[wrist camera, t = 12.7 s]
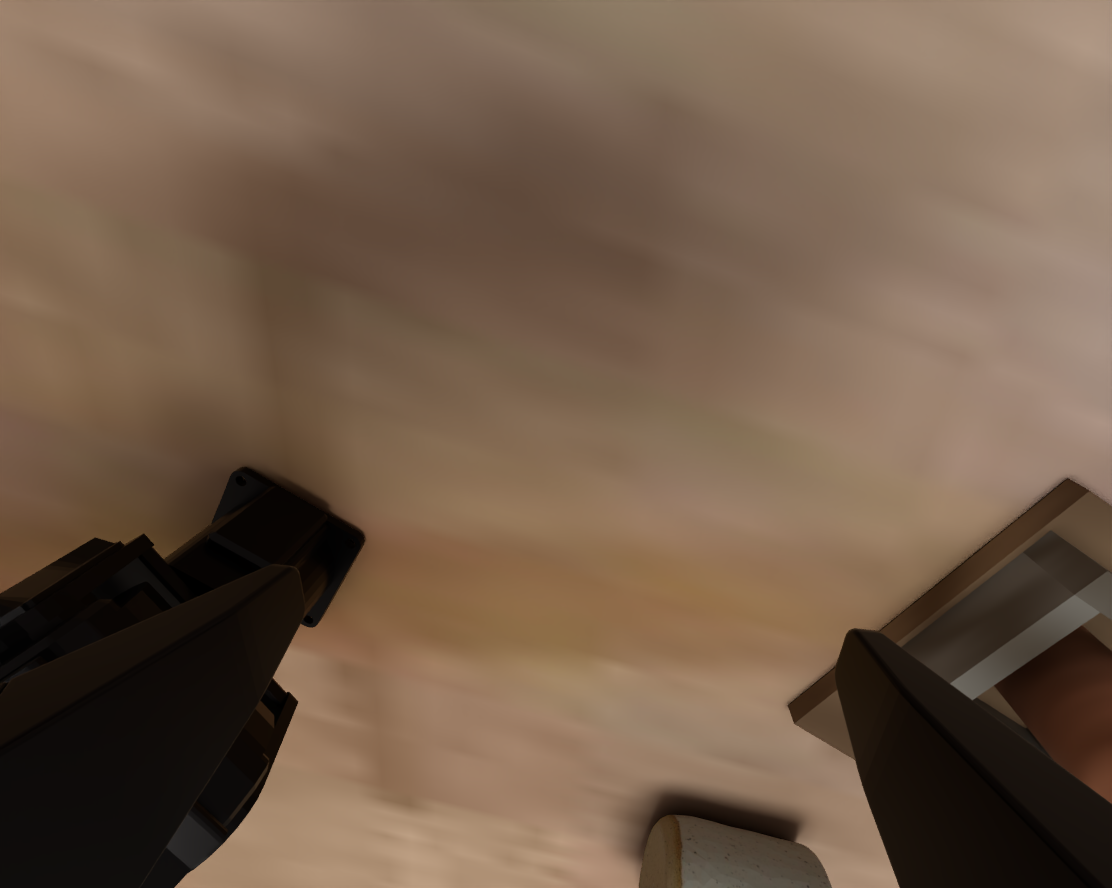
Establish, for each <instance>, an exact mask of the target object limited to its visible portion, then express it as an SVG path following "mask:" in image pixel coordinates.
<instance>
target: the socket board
mask: <svg viewBox="0 0 1112 888" xmlns="http://www.w3.org/2000/svg"><path fill="white" fill-rule="evenodd" d="M1081 625H1082V626H1084V627H1085V628H1086V629H1087V630H1088V631H1089V632H1090V633H1092V634H1093V635H1094V636H1095V637H1096V638H1097V639H1098V640H1100V641H1101V642H1102V643H1103V644H1104V645H1105V646H1106V647H1108V648H1109V649H1110V650H1111V651H1112V506H1110V505H1109V504H1107V503H1106V502H1105V501H1103V500H1102V499H1100V498H1099V497H1098V496H1096V495H1095V494H1093V493H1092V492H1091V491H1089V490H1087V489H1086V488H1084V487H1082V486H1080V485H1079V484H1077V483H1075V482H1073V481H1072V480H1070V479H1067V480H1066V481H1064V482H1063V483H1062V484H1061V485H1060V486H1058V487H1057V488H1056V489H1055V490H1053V491H1052V492H1051V493H1050V494H1048V495H1047V496H1046V497H1045V498H1043V499H1042V500H1041V501H1040V502H1039V503H1037V504H1036V505H1035V506H1034V507H1032V508H1031V509H1030V510H1029V511H1027V512H1026V513H1025V514H1024V515H1023V516H1021V517H1020V518H1019V519H1018V520H1016V521H1015V522H1014V523H1013V524H1011V525H1010V526H1009V527H1008V528H1006V529H1005V530H1004V531H1003V532H1002V533H1000V534H999V535H998V536H997V537H995V538H994V539H993V540H992V541H990V542H989V543H988V544H987V545H986V546H984V547H983V548H982V549H981V550H979V551H978V552H977V553H976V554H974V555H973V556H972V557H971V558H970V559H968V560H967V561H966V562H965V563H963V564H962V565H961V566H960V567H958V568H957V569H956V570H955V571H953V572H952V573H951V574H950V575H949V576H947V577H946V578H945V579H944V580H942V581H941V582H940V583H939V584H937V585H936V586H935V587H934V588H933V589H931V590H930V591H929V592H928V593H926V594H925V595H924V596H923V597H921V598H920V599H919V600H918V601H917V602H915V603H914V604H913V605H912V606H910V607H909V608H908V609H907V610H905V611H904V612H903V613H902V614H900V615H899V616H898V617H897V618H896V619H894V620H893V621H892V622H891V623H889V624H888V625H887V626H886V627H884V628H883V629H882V630H881V631H880V632H881V633H882V634H884V635H885V636H887V637H888V638H889V639H891V640H892V641H893V642H895V643H896V644H897V645H899V646H900V647H902V648H903V649H904V650H906V651H907V652H908V653H910V654H911V655H912V656H914V657H915V658H916V659H918V660H919V661H920V662H922V663H923V664H924V665H926V666H927V667H928V668H930V669H931V670H932V671H934V672H935V673H937V674H938V675H939V676H941V677H942V678H943V679H945V680H946V681H947V682H949V683H950V684H951V685H953V686H954V687H955V688H957V689H958V690H959V691H961V692H962V693H963V694H965V695H966V696H968V697H969V698H970V699H972V700H973V701H974V702H976V703H977V704H978V705H980V706H981V707H982V708H984V709H985V710H986V711H988V712H989V713H990V714H992V715H993V716H994V717H996V718H997V719H998V720H1000V721H1001V722H1003V723H1004V724H1005V725H1007V726H1008V727H1009V728H1011V729H1012V730H1013V731H1015V732H1016V733H1017V734H1019V735H1020V736H1021V737H1023V738H1024V739H1025V740H1027V741H1028V742H1029V743H1031V744H1032V745H1033V746H1035V747H1036V748H1038V749H1039V750H1040V751H1042V752H1043V753H1044V754H1046V755H1047V756H1048V757H1050V758H1051V759H1052V757H1051V756H1050V755H1049V754H1048V752H1047V751H1046V750H1045V749H1044V747H1043V746H1042V745H1041V744H1040V742H1039V741H1038V740H1037V739H1036V737H1035V736H1034V735H1033V734H1032V732H1031V731H1030V730H1029V729H1028V727H1027V726H1026V725H1025V724H1024V722H1023V721H1022V720H1021V719H1020V717H1019V716H1018V715H1017V714H1016V713H1015V711H1014V710H1013V709H1012V708H1011V706H1010V705H1009V704H1008V703H1007V701H1006V700H1005V699H1004V698H1003V696H1002V695H1001V694H1000V693H999V691H998V690H997V689H996V688H995V686H994V685H995V684H997V683H998V682H1000V681H1001V680H1003V679H1004V678H1005V677H1007V676H1008V675H1010V674H1011V673H1013V672H1014V671H1016V670H1017V669H1019V668H1020V667H1022V666H1023V665H1024V664H1026V663H1027V662H1029V661H1030V660H1032V659H1033V658H1035V657H1036V656H1038V655H1039V654H1040V653H1042V652H1043V651H1045V650H1046V649H1048V648H1049V647H1051V646H1052V645H1054V644H1055V643H1057V642H1058V641H1059V640H1061V639H1062V638H1064V637H1065V636H1067V635H1068V634H1070V633H1071V632H1073V631H1074V630H1076V629H1077V628H1078V627H1080V626H1081ZM835 668H836V667H835ZM835 668H834V669H833V670H831V671H830V672H829V673H828V674H827V675H825V676H824V677H823V678H822V679H820V680H819V681H818V682H817V683H815V684H814V685H813V686H812V687H811V688H809V689H808V690H807V691H806V692H804V693H803V694H802V695H801V696H799V697H798V698H797V699H796V700H794V701H793V702H792V703H791V704H790V705H788V707H789V710H790V713H791V716H792V719H793V722H794V724H795V725H797V726H799V727H800V728H802V729H804V730H806V731H807V732H809V733H811V734H812V735H814V736H816V737H817V738H819V739H821V740H822V741H824V742H826V743H827V744H829V745H831V746H832V747H834V748H836V749H837V750H839V751H841V752H843V753H844V754H846V755H848V756H849V757H851V758H853V759H854V760H855V757H854V753H853V749H852V745H851V742H850V738H849V734H848V730H847V726H846V722H845V718H844V714H843V711H842V707H841V703H840V699H839V695H838V691H837V687H836V683H835ZM1052 760H1053V759H1052Z"/></svg>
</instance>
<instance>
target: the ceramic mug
mask: <svg viewBox="0 0 1112 888" xmlns="http://www.w3.org/2000/svg"><path fill="white" fill-rule="evenodd" d="M639 888H832V887H831V884H830V881H829V879H828V876H827V874H826V872H825V869H824V867H823V866H822V864H821V862H820V861H819V859H818V857H817V856H816V855H815V854H814V853H813V852H812V851H811V850H810V849H809V848H807V847H806V846H804V845H802V844H799V843H795V842H791V841H787V840H783V839H779V838H775V837H771V836H767V835H764V834H760V833H756V832H752V831H749V830H744V829H739V828H734V827H730V826H727V825H723V824H720V823H716V822H713V821H709V820H705V819H701V818H697V817H693V816H684V815H667V816H665V817H662V818H661V819H660V820H659V821H658V822H657V823H656V824H655V825H654V827H653V828H652V831H651V833H650V835H649V838H648V841H647V845H646V848H645V852H644V857H643V863H642V868H641V874H640V881H639Z"/></svg>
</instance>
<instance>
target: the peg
mask: <svg viewBox="0 0 1112 888" xmlns="http://www.w3.org/2000/svg"><path fill="white" fill-rule="evenodd" d="M994 686H995V688H996V689H997V690H998V691H999V693H1000V694H1001V695H1002V696H1003V698H1004V699H1005V700H1006V701H1007V703H1008V704H1009V705H1010V706H1011V708H1012V709H1013V710H1014V711H1015V713H1016V714H1017V715H1018V716H1019V717H1020V719H1021V720H1022V721H1023V722H1024V724H1025V725H1026V726H1027V727H1028V729H1029V730H1030V731H1031V732H1032V734H1033V735H1034V736H1035V737H1036V739H1037V740H1038V741H1039V742H1040V744H1041V745H1042V746H1043V747H1044V749H1045V750H1046V751H1047V752H1048V754H1049V755H1050V756H1051V757H1052V759H1053V760H1054V761H1055V762H1056V763H1058V764H1059V765H1060V766H1062V767H1063V768H1064V769H1066V770H1067V771H1068V772H1070V773H1071V774H1073V775H1074V776H1075V777H1077V778H1078V779H1079V780H1081V781H1082V782H1083V783H1085V784H1086V785H1087V786H1089V787H1090V788H1091V789H1093V790H1094V791H1095V792H1097V793H1098V794H1099V795H1101V796H1102V797H1103V798H1105V799H1106V800H1108V801H1109V802H1110V803H1112V651H1111V650H1110V649H1109V648H1108V647H1106V646H1105V645H1104V644H1103V643H1102V642H1101V641H1100V640H1098V639H1097V638H1096V637H1095V636H1094V635H1093V634H1092V633H1090V632H1089V631H1088V630H1087V629H1086V628H1085V627H1084V626H1082V625H1081V626H1080V627H1078V628H1077V629H1076V630H1074V631H1073V632H1071V633H1070V634H1068V635H1067V636H1065V637H1064V638H1062V639H1061V640H1059V641H1058V642H1057V643H1055V644H1054V645H1052V646H1051V647H1049V648H1048V649H1046V650H1045V651H1043V652H1042V653H1040V654H1039V655H1038V656H1036V657H1035V658H1033V659H1032V660H1030V661H1029V662H1027V663H1026V664H1024V665H1023V666H1022V667H1020V668H1019V669H1017V670H1016V671H1014V672H1013V673H1011V674H1010V675H1008V676H1007V677H1005V678H1004V679H1003V680H1001V681H1000V682H998V683H997V684H995V685H994Z"/></svg>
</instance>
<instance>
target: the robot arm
mask: <svg viewBox="0 0 1112 888" xmlns="http://www.w3.org/2000/svg"><path fill="white" fill-rule="evenodd" d="M242 477H244V478H245V480H246V481H244V480H243V479H242ZM349 539H351V540H353V541H354V542H355V544H354V543H352V542H351V541H350V540H349ZM364 542H365V540H364V537H363V535H362V534H361V533H360V532H358V531H357V530H355V529H353V528H351V527H350V526H348V525H346V524H345V523H343V522H341V521H339V520H338V519H336V518H334V517H332V516H331V515H329V514H327V513H326V512H324V511H322V510H320V509H319V508H317V507H315V506H313V505H312V504H310V503H308V502H307V501H305V500H303V499H301V498H300V497H298V496H296V495H294V494H293V493H291V492H289V491H288V490H286V489H284V488H282V487H281V486H279V485H277V484H275V483H274V482H272V481H270V480H269V479H267V478H265V477H263V476H262V475H260V474H258V473H256V472H255V471H253V470H251V469H249V468H247V467H241V468H239V469H237V470H236V471H234V472H233V473H232V474H231V476H230V478H229V481H228V483H227V486H226V488H225V491H224V494H223V496H222V499H221V501H220V504H219V506H218V509H217V511H216V514H215V516H214V519H213V521H212V524H211V525H210V526H208V527H207V528H206V529H204V530H203V531H202V532H200V533H199V534H197V535H196V536H195V537H193V538H192V539H191V540H189V541H188V542H186V543H185V544H184V545H182V546H181V547H180V548H178V549H177V550H176V551H174V552H173V553H171V554H170V555H169V556H167V557H166V558H165V559H163V558H162V557H161V556H160V555H159V554H158V553H157V552H156V551H155V550H154V548H153V547H152V546H154V544H153V543H152V542H151V541H150V540H149V538H148V537H147V536H146V535H145V534H142V535H140V536H138V537H137V538H135V539H133V540H132V541H130V542H128V543H126V544H125V545H124V544H123V543H122V542H121V541H119V542H118V543H117V542H116V543H112V542H108V541H105V540H102V539H98V538H94V539H92V540H90V541H88V542H87V543H85V544H83V545H82V546H80V547H78V548H77V549H75V550H73V551H72V552H70V553H68V554H67V555H65V556H63V557H62V558H60V559H58V560H57V561H55V562H53V563H51V564H50V565H48V566H46V567H45V568H43V569H41V570H40V571H38V572H36V573H35V574H33V575H31V576H29V577H28V578H26V579H24V580H23V581H21V582H19V583H18V584H16V585H14V586H12V587H11V588H9V589H7V590H6V591H4V592H2V593H1V594H0V888H174V887H175V886H176V885H177V884H178V883H179V882H180V881H181V880H182V879H183V878H184V876H185V875H186V874H187V873H189V872H190V871H192V870H194V869H195V868H196V867H197V866H199V865H200V864H201V863H202V862H204V861H205V860H206V859H207V858H208V857H210V856H211V855H212V854H213V853H214V852H215V851H216V850H217V849H218V848H219V847H220V846H221V845H222V844H223V843H224V842H225V841H226V840H227V839H228V837H229V836H230V835H231V834H232V833H233V832H234V831H235V830H236V829H237V827H238V826H239V825H240V823H241V822H242V821H243V819H244V818H245V817H246V816H247V814H248V813H249V811H250V810H251V808H252V807H253V805H254V804H255V802H256V801H257V799H258V797H259V795H260V793H261V791H262V789H263V787H264V785H265V782H266V780H267V777H268V775H269V772H270V770H271V768H272V765H273V763H274V760H275V758H276V755H277V753H278V750H279V748H280V746H281V743H282V741H283V738H284V736H285V733H286V731H287V728H288V726H289V724H290V721H291V719H292V716H293V714H294V711H295V709H296V706H297V704H298V701H297V700H296V699H295V698H294V697H293V695H292V694H291V693H290V692H287V693H286V692H285V691H284V690H283V689H282V688H281V686H280V685H279V684H278V683H277V682H276V681H275V680H274V679H273V676H274V674H275V672H276V670H277V668H278V666H279V664H280V662H281V660H282V658H283V656H284V654H285V653H286V651H287V649H288V647H289V645H290V643H291V641H292V639H293V637H294V635H295V633H296V631H297V629H298V627H299V626H300V624H302V625H304V626H307V627H315V626H316V625H317V624H318V623H319V622H320V620H321V619H322V617H323V616H324V614H325V612H326V610H327V609H328V607H329V605H330V603H331V602H332V600H333V598H334V596H335V595H336V593H337V591H338V589H339V588H340V586H341V584H342V582H343V580H344V579H345V577H346V575H347V573H348V572H349V570H350V568H351V566H352V565H353V563H354V561H355V559H356V558H357V556H358V554H359V552H360V551H361V549H362V547H363V545H364ZM311 617H312V618H311ZM835 683H836V687H837V691H838V695H839V699H840V703H841V707H842V711H843V714H844V718H845V722H846V726H847V730H848V734H849V738H850V742H851V745H852V749H853V753H854V757H855V761H856V765H857V769H858V772H859V776H860V779H861V782H862V786H863V789H864V792H865V795H866V797H867V800H868V803H869V806H870V809H871V811H872V814H873V817H874V819H875V822H876V825H877V828H878V830H879V833H880V836H881V838H882V841H883V844H884V847H885V849H886V852H887V855H888V857H889V860H890V863H891V865H892V868H893V871H894V874H895V876H896V879H897V882H898V884H899V887H900V888H1112V803H1110V802H1109V801H1108V800H1106V799H1105V798H1103V797H1102V796H1101V795H1099V794H1098V793H1097V792H1095V791H1094V790H1093V789H1091V788H1090V787H1089V786H1087V785H1086V784H1085V783H1083V782H1082V781H1081V780H1079V779H1078V778H1077V777H1075V776H1074V775H1073V774H1071V773H1070V772H1068V771H1067V770H1066V769H1064V768H1063V767H1062V766H1060V765H1059V764H1058V763H1056V762H1055V761H1054V760H1052V759H1051V758H1050V757H1048V756H1047V755H1046V754H1044V753H1043V752H1042V751H1040V750H1039V749H1038V748H1036V747H1035V746H1033V745H1032V744H1031V743H1029V742H1028V741H1027V740H1025V739H1024V738H1023V737H1021V736H1020V735H1019V734H1017V733H1016V732H1015V731H1013V730H1012V729H1011V728H1009V727H1008V726H1007V725H1005V724H1004V723H1003V722H1001V721H1000V720H998V719H997V718H996V717H994V716H993V715H992V714H990V713H989V712H988V711H986V710H985V709H984V708H982V707H981V706H980V705H978V704H977V703H976V702H974V701H973V700H972V699H970V698H969V697H968V696H966V695H965V694H963V693H962V692H961V691H959V690H958V689H957V688H955V687H954V686H953V685H951V684H950V683H949V682H947V681H946V680H945V679H943V678H942V677H941V676H939V675H938V674H937V673H935V672H934V671H932V670H931V669H930V668H928V667H927V666H926V665H924V664H923V663H922V662H920V661H919V660H918V659H916V658H915V657H914V656H912V655H911V654H910V653H908V652H907V651H906V650H904V649H903V648H902V647H900V646H899V645H897V644H896V643H895V642H893V641H892V640H891V639H889V638H888V637H887V636H885V635H884V634H882V633H881V632H879V631H875V630H866V629H857V628H854V629H851V630H849V631H848V632H847V634H846V636H845V639H844V642H843V646H842V649H841V652H840V655H839V658H838V661H837V664H836V668H835Z"/></svg>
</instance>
